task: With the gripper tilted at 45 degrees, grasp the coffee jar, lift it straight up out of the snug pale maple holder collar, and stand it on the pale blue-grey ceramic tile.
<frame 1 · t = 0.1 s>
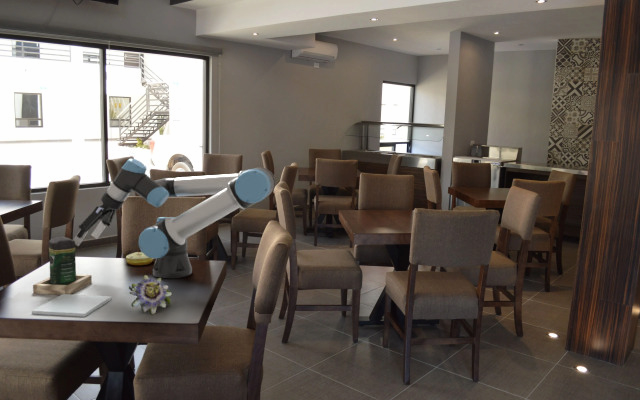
hand: (85, 240, 196), 15 cm above the table, fingers open, 13 cm apart
ceramic tile: (73, 306, 168), on the table
passion flower: (149, 310, 167), on the table
coffee jar: (63, 288, 187), resting in holder collar
decorated donut: (140, 263, 226), on the table
holder collar: (63, 287, 187), on the table
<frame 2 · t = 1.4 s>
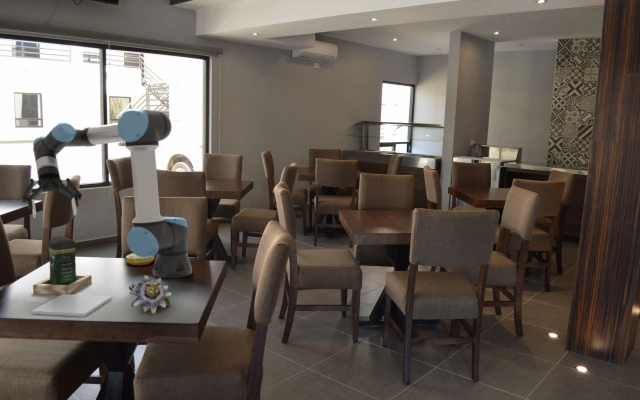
hand: (55, 214, 192), 25 cm above the table, fingers open, 13 cm apart
nothing on the table moved.
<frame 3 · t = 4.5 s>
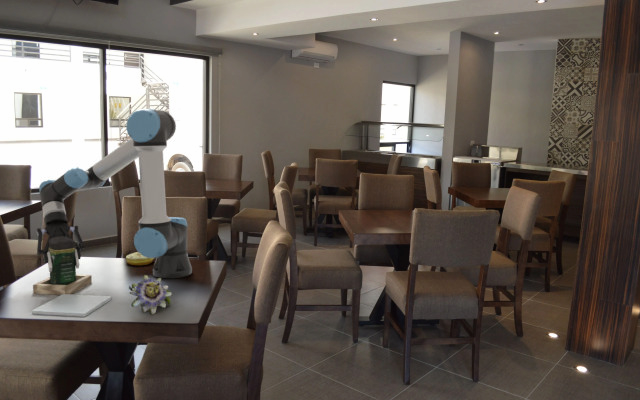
hand: (64, 268, 183), 8 cm above the table, fingers closed on coffee jar, 8 cm apart
coffee jar: (63, 288, 187), resting in holder collar, touching gripper
everything else where it was.
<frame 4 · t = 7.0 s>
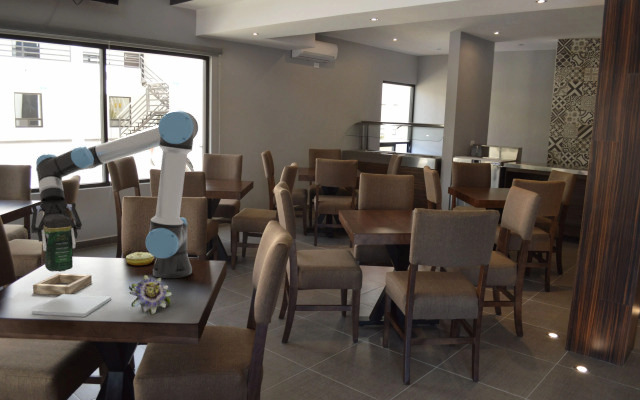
hand: (59, 247, 172), 18 cm above the table, fingers closed on coffee jar, 8 cm apart
coffee jar: (59, 269, 176), point 10 cm above the table, touching gripper
everything else where it was.
when the fingers open (11 cm above the table, at t = 9.6 s): coffee jar drops 1 cm, resting on ceramic tile.
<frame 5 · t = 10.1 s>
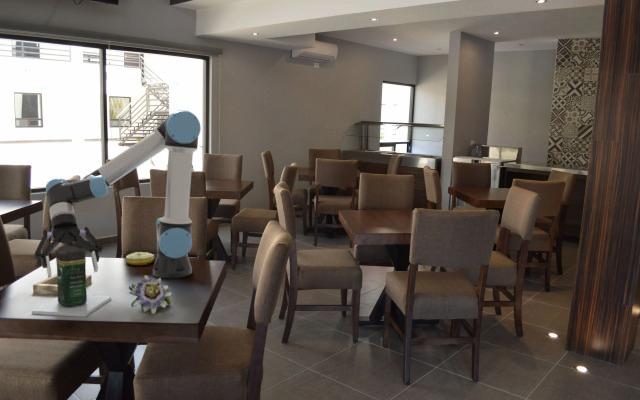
hand: (73, 272, 165), 12 cm above the table, fingers open, 13 cm apart
coffee jar: (72, 303, 168), point 1 cm above the table, touching ceramic tile
everything else where it was.
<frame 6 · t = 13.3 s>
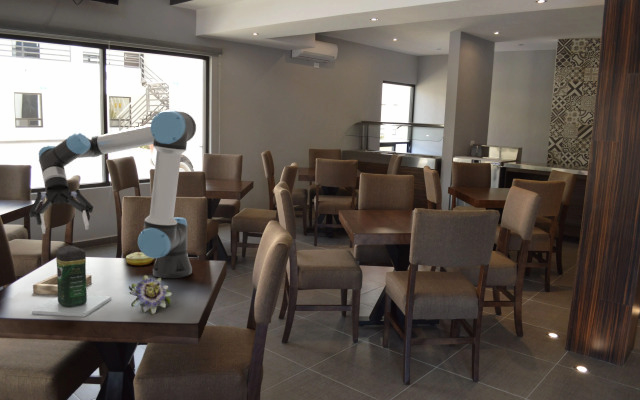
hand: (66, 229, 179), 23 cm above the table, fingers open, 13 cm apart
nothing on the table moved.
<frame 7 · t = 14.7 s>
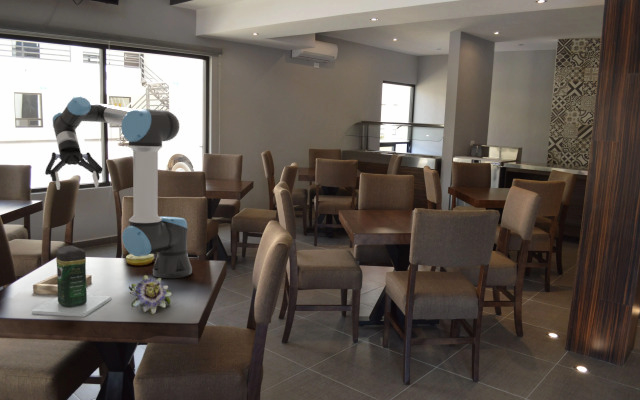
hand: (78, 186, 197), 35 cm above the table, fingers open, 13 cm apart
nothing on the table moved.
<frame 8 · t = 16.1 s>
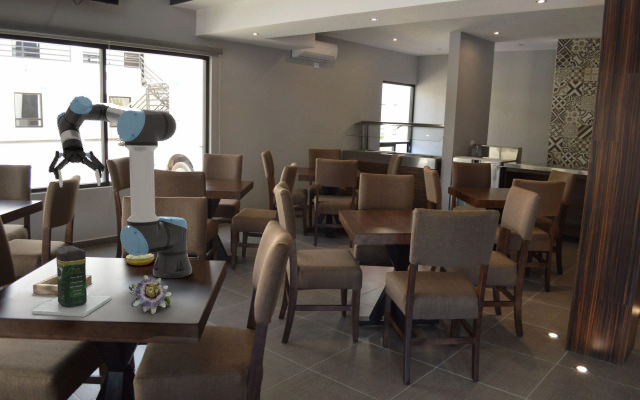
hand: (80, 184, 201), 36 cm above the table, fingers open, 13 cm apart
nothing on the table moved.
at the end: coffee jar inside the target area on the ceramic tile (0.2 cm from its centre), point 0.8 cm above the ceramic tile's base; coffee jar tilted 0°; the gripper is holding nothing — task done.
